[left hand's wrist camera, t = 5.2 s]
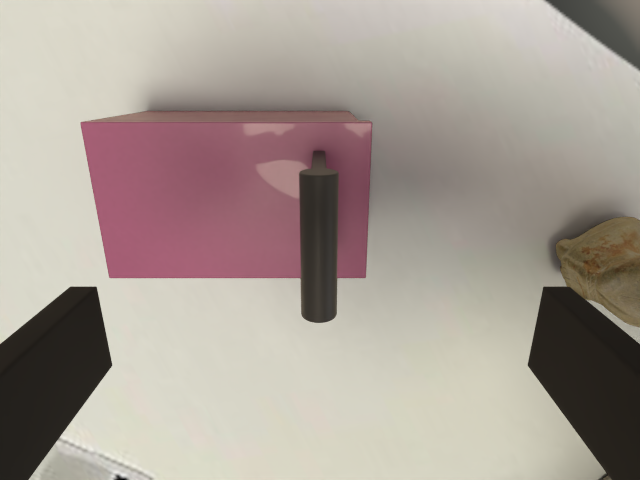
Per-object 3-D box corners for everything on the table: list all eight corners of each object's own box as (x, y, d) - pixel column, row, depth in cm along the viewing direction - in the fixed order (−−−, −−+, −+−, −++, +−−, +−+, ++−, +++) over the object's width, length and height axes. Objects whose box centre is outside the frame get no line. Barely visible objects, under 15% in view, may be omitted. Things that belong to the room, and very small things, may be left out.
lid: (370, 120, 24) (395, 139, 16) (364, 272, 28) (382, 349, 20) (88, 120, 24) (-26, 139, 16) (116, 272, 28) (32, 350, 20)
